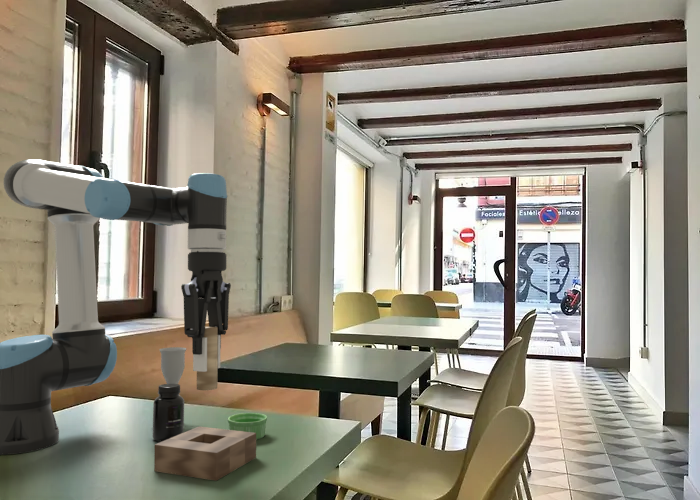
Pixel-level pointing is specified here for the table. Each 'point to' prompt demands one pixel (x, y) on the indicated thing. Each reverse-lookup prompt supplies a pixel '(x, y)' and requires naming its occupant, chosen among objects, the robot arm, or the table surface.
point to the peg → (209, 361)
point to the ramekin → (248, 423)
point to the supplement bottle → (168, 412)
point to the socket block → (205, 452)
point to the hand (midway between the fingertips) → (206, 368)
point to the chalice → (172, 364)
